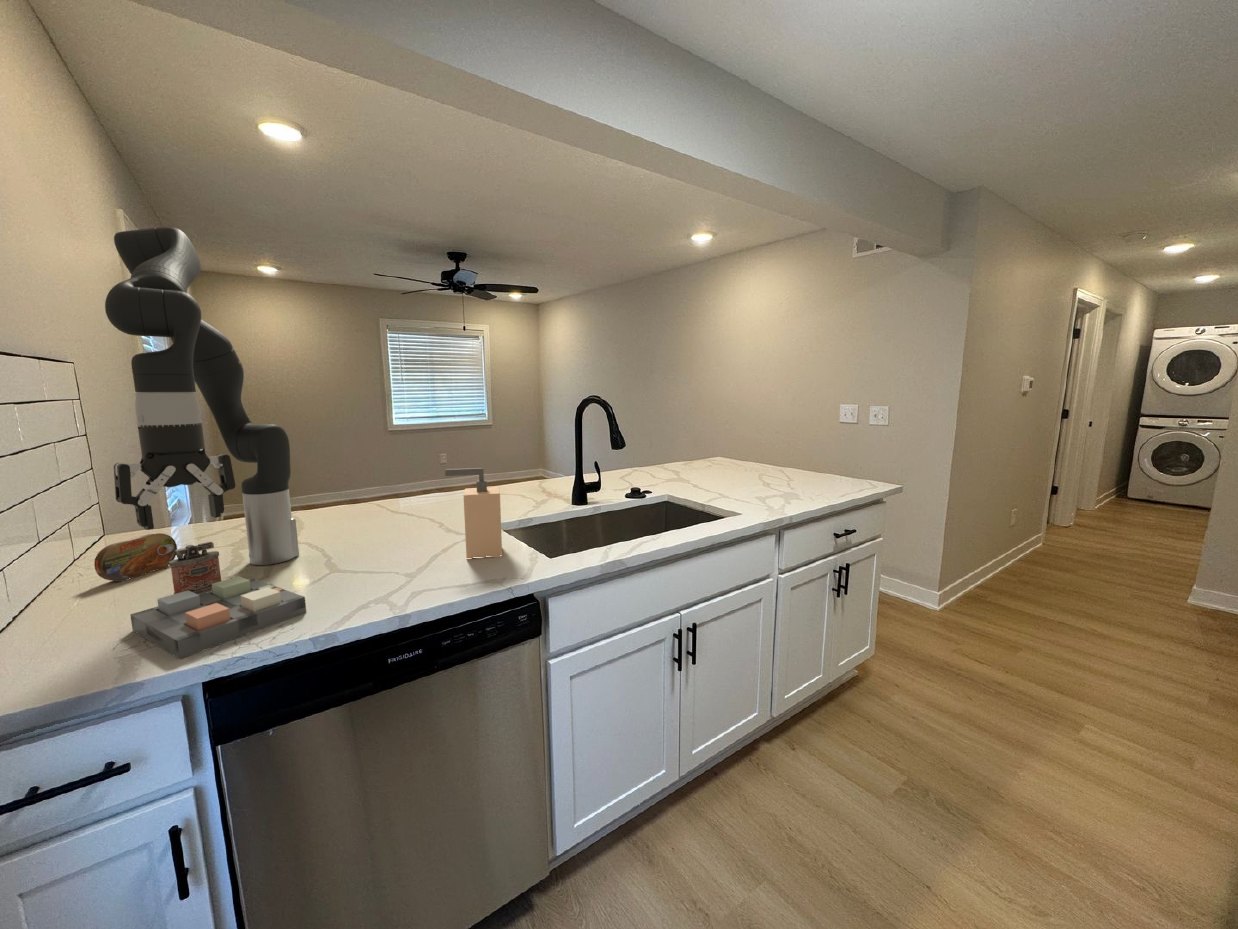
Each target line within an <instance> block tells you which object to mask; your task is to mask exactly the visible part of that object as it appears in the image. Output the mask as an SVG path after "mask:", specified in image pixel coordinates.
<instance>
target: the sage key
mask: <svg viewBox="0 0 1238 929" xmlns="http://www.w3.org/2000/svg"><path fill="white" fill-rule="evenodd" d="M212 591H213V595H214V596H216V597H219V598H221V599H225V598H228V597H231V596H235V595H238V594H241V593H244V592H248V591H251V588H250V579H247V578H244V577H241V576H234V577H230V578H228V579H227V578H226V579H224V580H221V581H220V582H216V583H212Z"/></svg>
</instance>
